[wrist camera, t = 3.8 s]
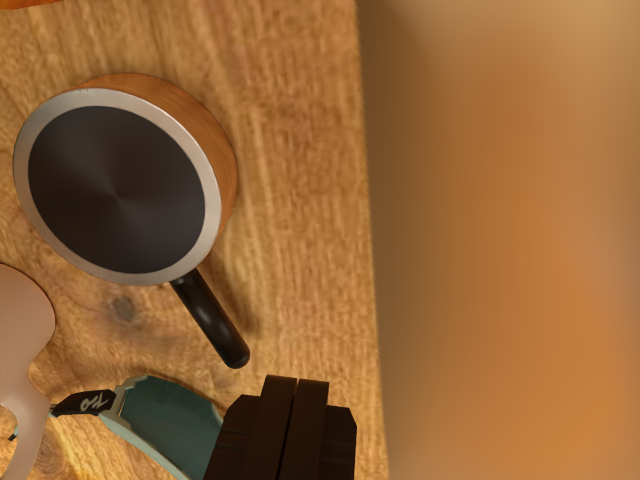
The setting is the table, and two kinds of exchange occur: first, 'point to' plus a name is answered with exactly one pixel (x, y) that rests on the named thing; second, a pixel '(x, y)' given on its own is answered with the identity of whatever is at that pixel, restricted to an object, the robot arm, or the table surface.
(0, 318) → the mug
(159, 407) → the sunglasses
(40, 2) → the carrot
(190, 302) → the pan
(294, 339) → the table surface
